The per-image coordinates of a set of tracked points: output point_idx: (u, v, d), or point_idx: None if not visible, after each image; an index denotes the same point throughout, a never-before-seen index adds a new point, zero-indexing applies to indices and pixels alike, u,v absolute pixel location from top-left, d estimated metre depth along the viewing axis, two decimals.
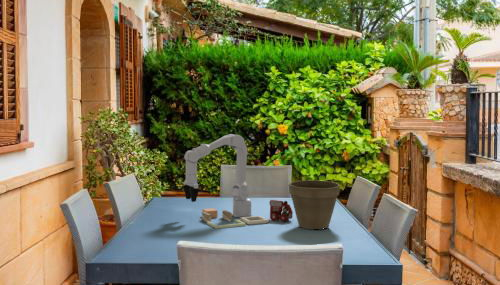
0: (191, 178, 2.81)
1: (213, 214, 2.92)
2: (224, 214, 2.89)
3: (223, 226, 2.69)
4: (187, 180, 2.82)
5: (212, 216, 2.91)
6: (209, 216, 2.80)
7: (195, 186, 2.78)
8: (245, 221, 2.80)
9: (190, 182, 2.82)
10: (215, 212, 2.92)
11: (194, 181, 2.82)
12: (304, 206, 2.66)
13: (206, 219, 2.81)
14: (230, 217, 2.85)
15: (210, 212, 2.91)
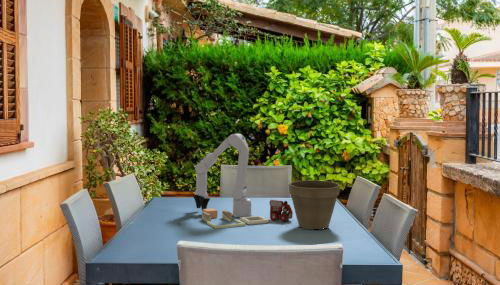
0: (202, 189, 3.01)
1: (213, 214, 2.92)
2: (224, 214, 2.89)
3: (223, 226, 2.69)
4: (198, 190, 3.01)
5: (212, 216, 2.91)
6: (209, 216, 2.80)
7: (205, 196, 2.97)
8: (245, 221, 2.80)
9: (201, 192, 3.01)
10: (215, 212, 2.92)
11: (204, 191, 3.02)
12: (304, 206, 2.66)
13: (206, 219, 2.81)
14: (230, 217, 2.85)
15: (210, 212, 2.91)
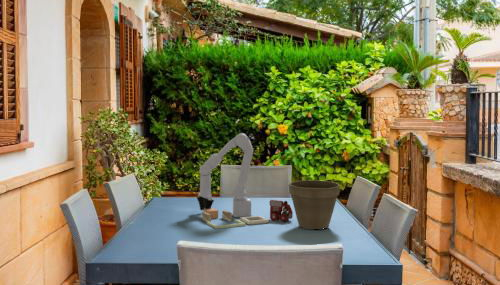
0: (205, 190, 2.96)
1: (214, 214, 2.91)
2: (224, 214, 2.89)
3: (223, 226, 2.69)
4: (201, 192, 2.97)
5: (213, 216, 2.91)
6: (209, 216, 2.80)
7: (209, 198, 2.93)
8: (245, 221, 2.80)
9: (204, 194, 2.96)
10: (216, 212, 2.91)
11: (208, 193, 2.97)
12: (304, 206, 2.66)
13: (206, 219, 2.81)
14: (230, 217, 2.85)
15: (211, 212, 2.90)
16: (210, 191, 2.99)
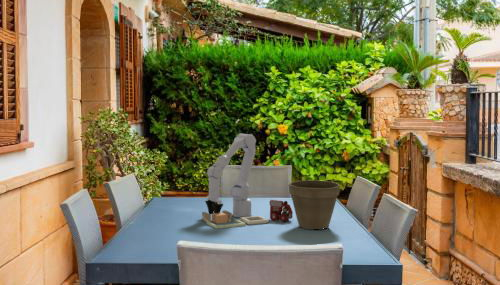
0: (214, 194, 2.86)
1: (223, 218, 2.80)
2: None
3: (223, 226, 2.69)
4: (210, 196, 2.86)
5: (222, 221, 2.80)
6: (209, 216, 2.80)
7: (218, 202, 2.82)
8: (245, 221, 2.80)
9: (213, 198, 2.86)
10: (225, 216, 2.80)
11: (217, 197, 2.86)
12: (304, 206, 2.66)
13: (206, 219, 2.81)
14: (230, 217, 2.85)
15: (220, 216, 2.79)
16: (219, 195, 2.88)
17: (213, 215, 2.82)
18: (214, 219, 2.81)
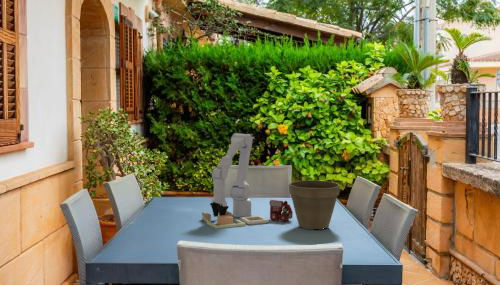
0: (220, 196, 2.80)
1: (229, 221, 2.74)
2: None
3: (223, 226, 2.69)
4: (215, 198, 2.80)
5: (227, 223, 2.74)
6: (209, 216, 2.80)
7: (224, 204, 2.76)
8: (245, 221, 2.80)
9: (218, 200, 2.80)
10: (231, 219, 2.75)
11: (222, 199, 2.81)
12: (304, 206, 2.66)
13: (206, 219, 2.81)
14: None
15: (225, 219, 2.73)
16: (224, 197, 2.82)
17: (218, 218, 2.76)
18: (219, 221, 2.75)
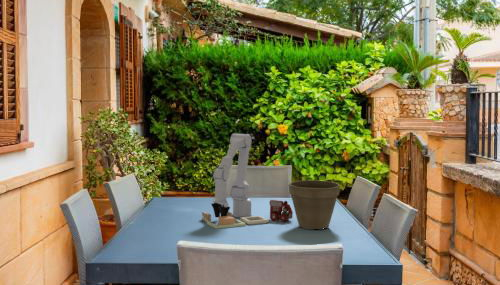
0: (221, 197, 2.78)
1: (230, 222, 2.73)
2: None
3: (223, 226, 2.69)
4: (217, 198, 2.79)
5: None
6: (209, 216, 2.80)
7: (225, 205, 2.75)
8: (245, 221, 2.80)
9: (220, 200, 2.78)
10: (232, 220, 2.73)
11: (224, 199, 2.79)
12: (304, 206, 2.66)
13: (206, 219, 2.81)
14: None
15: (227, 220, 2.72)
16: None
17: (220, 218, 2.75)
18: (220, 222, 2.74)
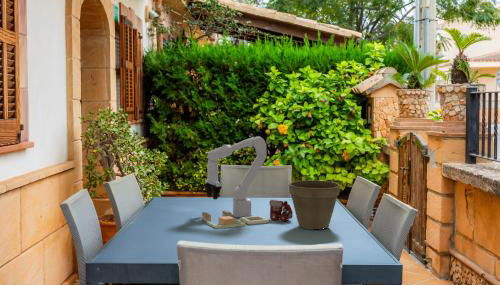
0: (213, 177, 2.93)
1: (230, 222, 2.73)
2: (224, 214, 2.89)
3: (223, 226, 2.69)
4: (209, 178, 2.94)
5: None
6: (209, 216, 2.80)
7: (217, 184, 2.90)
8: (245, 221, 2.80)
9: (212, 180, 2.93)
10: (232, 220, 2.73)
11: (216, 179, 2.94)
12: (304, 206, 2.66)
13: (206, 219, 2.81)
14: None
15: (227, 220, 2.72)
16: (217, 178, 2.96)
17: (220, 219, 2.74)
18: (221, 223, 2.74)
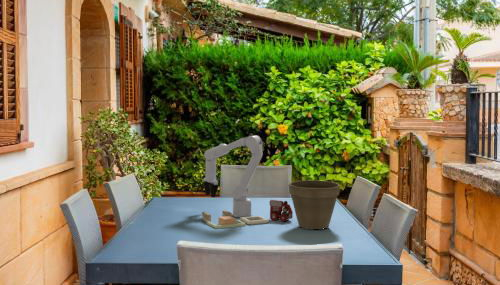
0: (211, 175, 2.99)
1: (230, 222, 2.73)
2: (224, 214, 2.89)
3: (223, 226, 2.69)
4: (207, 177, 3.00)
5: None
6: (209, 216, 2.80)
7: (215, 182, 2.96)
8: (245, 221, 2.80)
9: (210, 179, 3.00)
10: (233, 220, 2.73)
11: (213, 178, 3.00)
12: (304, 206, 2.66)
13: (206, 219, 2.81)
14: None
15: (227, 220, 2.72)
16: (215, 176, 3.02)
17: (220, 219, 2.74)
18: (221, 223, 2.74)
